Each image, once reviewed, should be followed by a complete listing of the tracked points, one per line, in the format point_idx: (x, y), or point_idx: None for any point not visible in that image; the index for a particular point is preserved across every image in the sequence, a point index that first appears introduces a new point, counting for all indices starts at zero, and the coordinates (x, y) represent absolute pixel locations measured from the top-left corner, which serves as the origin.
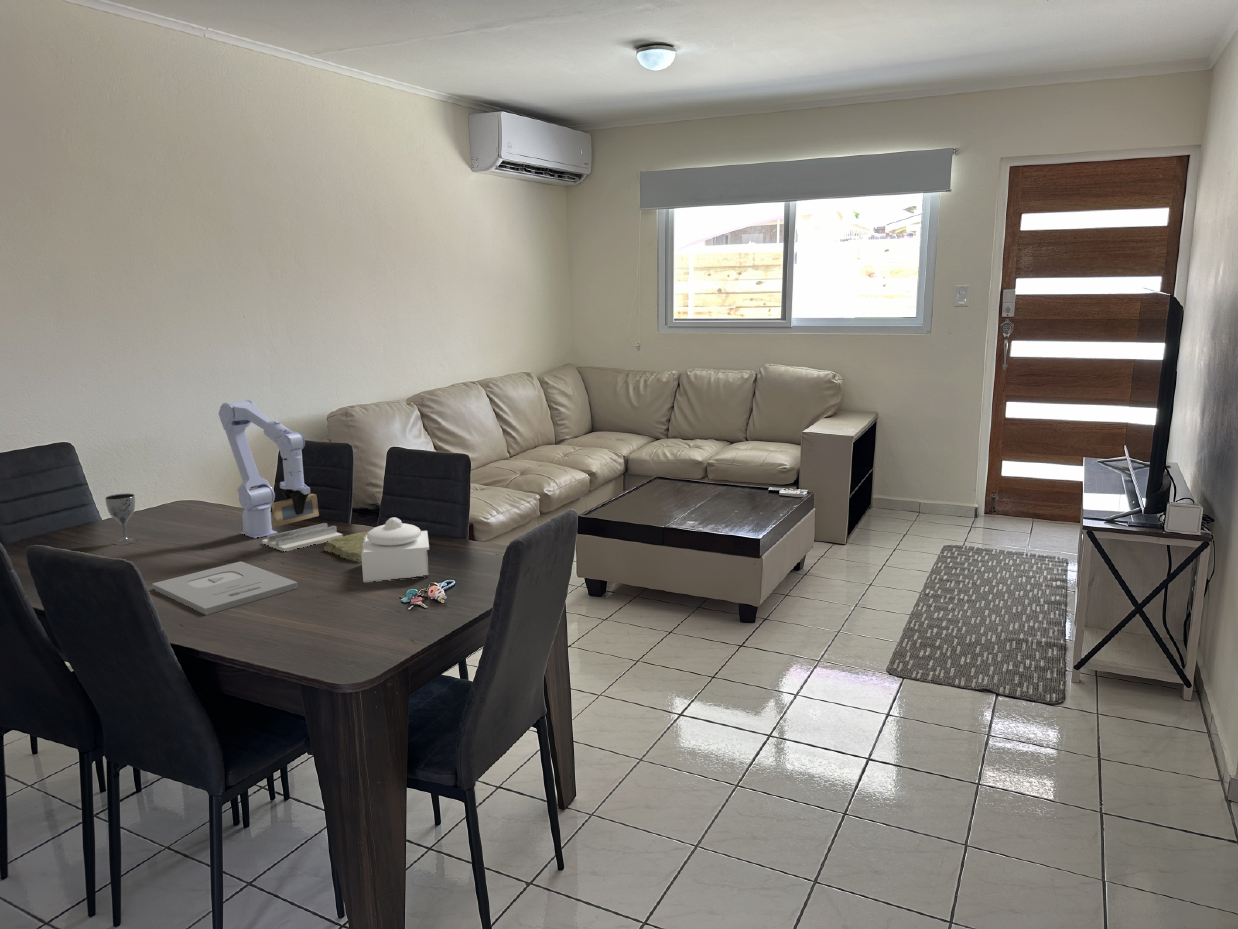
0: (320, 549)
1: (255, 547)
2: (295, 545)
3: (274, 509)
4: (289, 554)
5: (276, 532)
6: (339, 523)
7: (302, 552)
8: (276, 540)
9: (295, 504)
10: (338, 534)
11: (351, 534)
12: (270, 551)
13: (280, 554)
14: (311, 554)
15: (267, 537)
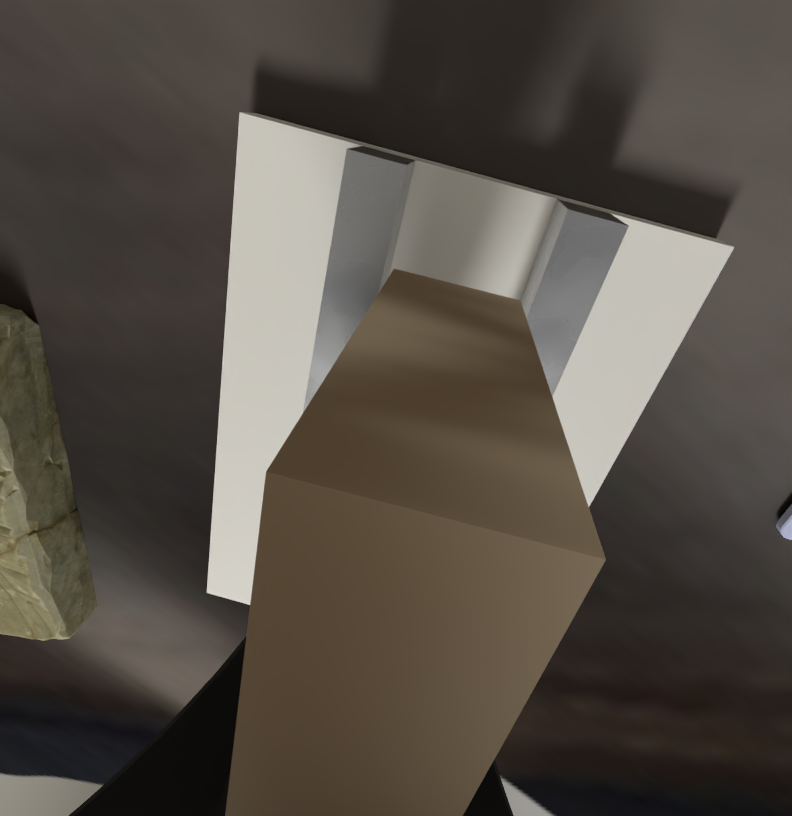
0: (87, 326)
1: (704, 92)
2: (235, 249)
3: (423, 401)
4: (150, 75)
5: (782, 525)
6: (494, 759)
7: (117, 193)
8: (391, 160)
9: (170, 728)
10: (226, 583)
11: (12, 550)
12: (412, 55)
13: (223, 22)
14: (2, 182)
15: (611, 220)
